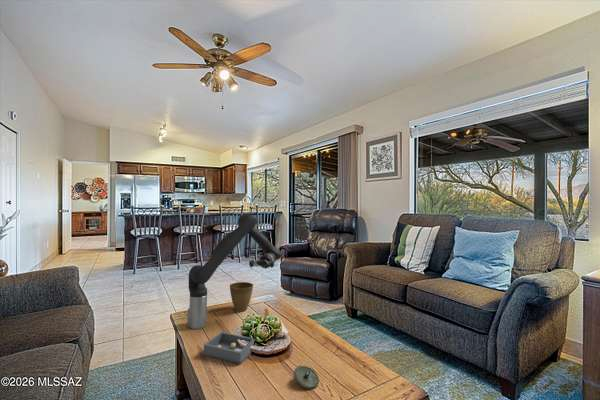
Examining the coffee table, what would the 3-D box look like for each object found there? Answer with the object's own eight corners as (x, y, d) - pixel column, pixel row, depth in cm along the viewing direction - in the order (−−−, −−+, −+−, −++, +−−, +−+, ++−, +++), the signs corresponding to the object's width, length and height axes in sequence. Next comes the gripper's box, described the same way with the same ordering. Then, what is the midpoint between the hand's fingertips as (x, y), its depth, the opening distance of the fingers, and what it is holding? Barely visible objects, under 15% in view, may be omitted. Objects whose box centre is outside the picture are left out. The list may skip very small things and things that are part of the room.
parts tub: (203, 355, 131) (203, 344, 131) (221, 341, 144) (221, 331, 144) (240, 364, 125) (240, 353, 125) (255, 349, 138) (255, 338, 138)
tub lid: (250, 343, 144) (251, 316, 144) (246, 330, 158) (247, 305, 158) (288, 338, 151) (289, 312, 151) (281, 326, 165) (281, 302, 165)
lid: (303, 371, 122) (304, 359, 122) (323, 380, 116) (324, 368, 116) (288, 383, 113) (288, 370, 113) (308, 394, 107) (309, 381, 107)
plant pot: (254, 306, 193) (255, 282, 193) (248, 315, 179) (249, 289, 179) (233, 304, 195) (234, 281, 195) (225, 313, 180) (226, 287, 180)
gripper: (255, 253, 181) (246, 258, 165) (277, 255, 178) (270, 260, 162) (255, 265, 181) (245, 271, 165) (277, 267, 178) (269, 273, 162)
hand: (258, 266), depth 163 cm, fingers open, 8 cm apart
